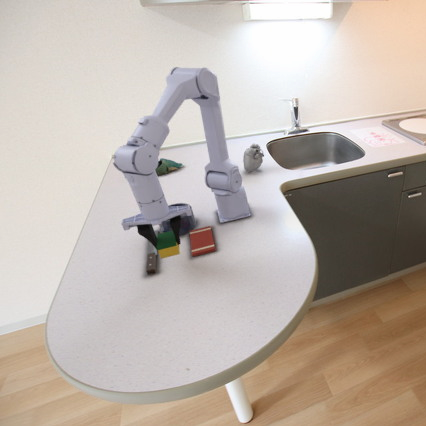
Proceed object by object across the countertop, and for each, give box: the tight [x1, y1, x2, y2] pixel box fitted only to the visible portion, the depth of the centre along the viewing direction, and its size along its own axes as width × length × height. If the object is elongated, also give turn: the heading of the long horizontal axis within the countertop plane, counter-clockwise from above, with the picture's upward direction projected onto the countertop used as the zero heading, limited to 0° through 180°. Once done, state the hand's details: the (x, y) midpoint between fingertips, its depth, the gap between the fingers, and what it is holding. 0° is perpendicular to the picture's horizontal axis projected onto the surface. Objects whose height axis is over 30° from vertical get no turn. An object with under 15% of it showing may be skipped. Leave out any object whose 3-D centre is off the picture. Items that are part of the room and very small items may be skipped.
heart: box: [242, 143, 265, 174], centre depth 126 cm, size 10×10×12 cm
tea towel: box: [189, 225, 216, 258], centre depth 89 cm, size 6×12×1 cm, turn 23°
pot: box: [158, 202, 197, 236], centre depth 94 cm, size 10×10×6 cm
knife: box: [145, 230, 159, 276], centre depth 85 cm, size 2×20×2 cm, turn 23°
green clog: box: [155, 157, 184, 176], centre depth 130 cm, size 9×20×5 cm, turn 114°
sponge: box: [157, 231, 181, 260], centre depth 77 cm, size 4×6×3 cm
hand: (168, 244), depth 77 cm, fingers closed on sponge, 4 cm apart
